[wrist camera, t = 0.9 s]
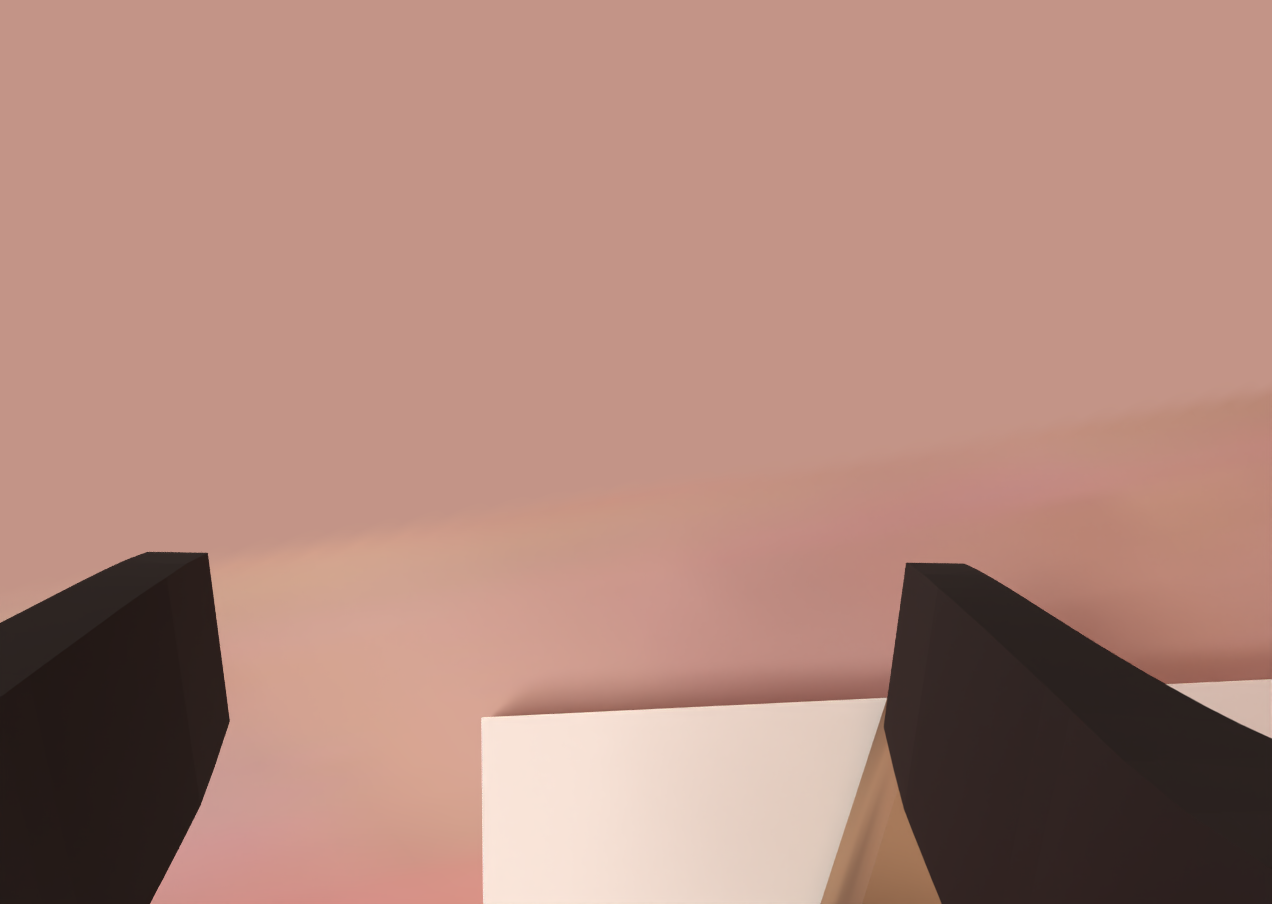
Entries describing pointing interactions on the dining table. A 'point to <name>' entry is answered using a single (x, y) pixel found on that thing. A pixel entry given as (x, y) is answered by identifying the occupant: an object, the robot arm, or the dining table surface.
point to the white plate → (695, 798)
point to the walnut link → (879, 843)
